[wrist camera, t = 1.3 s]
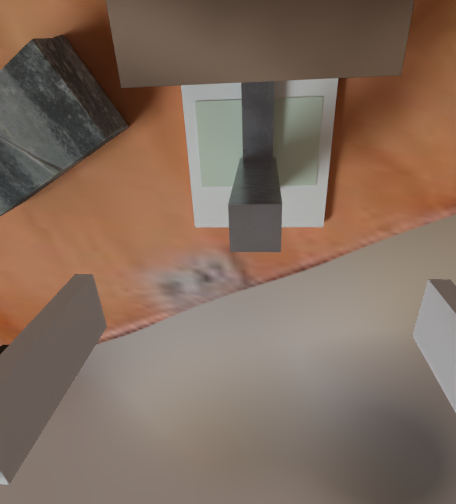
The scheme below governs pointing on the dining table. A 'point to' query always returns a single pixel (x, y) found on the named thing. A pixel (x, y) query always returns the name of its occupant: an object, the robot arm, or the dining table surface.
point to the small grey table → (256, 40)
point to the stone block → (48, 118)
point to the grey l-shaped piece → (256, 177)
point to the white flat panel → (284, 147)
